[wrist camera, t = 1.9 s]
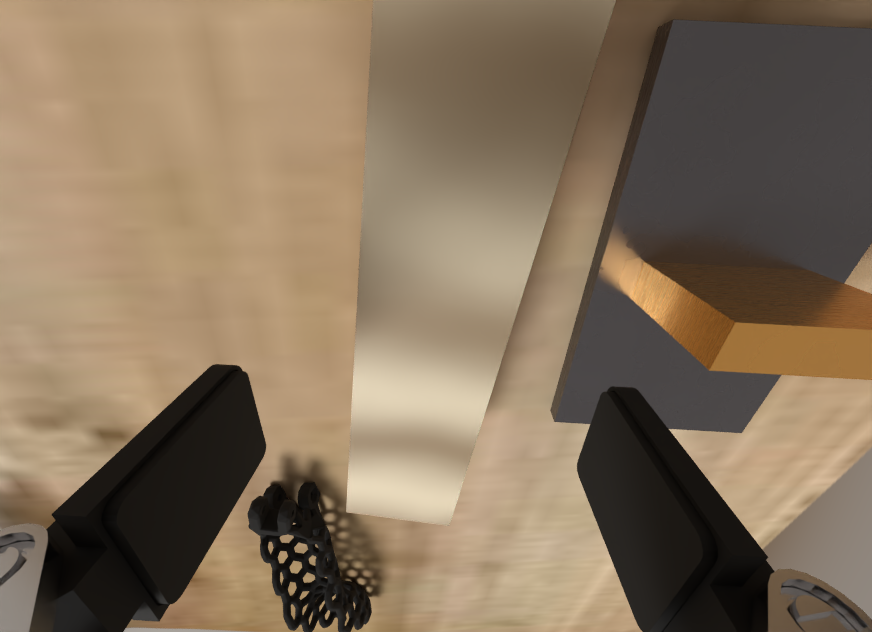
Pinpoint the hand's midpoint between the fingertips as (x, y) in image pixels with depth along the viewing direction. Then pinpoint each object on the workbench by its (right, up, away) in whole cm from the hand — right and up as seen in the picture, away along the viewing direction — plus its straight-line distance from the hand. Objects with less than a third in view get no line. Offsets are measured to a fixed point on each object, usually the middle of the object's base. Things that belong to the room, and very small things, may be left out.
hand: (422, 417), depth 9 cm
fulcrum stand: (+15, +5, +9) cm, 18 cm away
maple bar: (+1, +6, +9) cm, 11 cm away
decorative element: (-10, -18, +23) cm, 31 cm away
